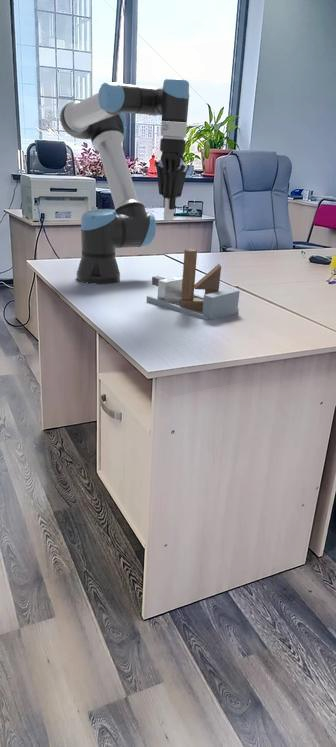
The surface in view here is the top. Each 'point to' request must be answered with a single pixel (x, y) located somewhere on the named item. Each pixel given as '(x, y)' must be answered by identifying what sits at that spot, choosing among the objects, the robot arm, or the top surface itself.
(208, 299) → the vise base
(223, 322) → the top surface
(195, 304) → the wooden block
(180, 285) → the sliding jaw
